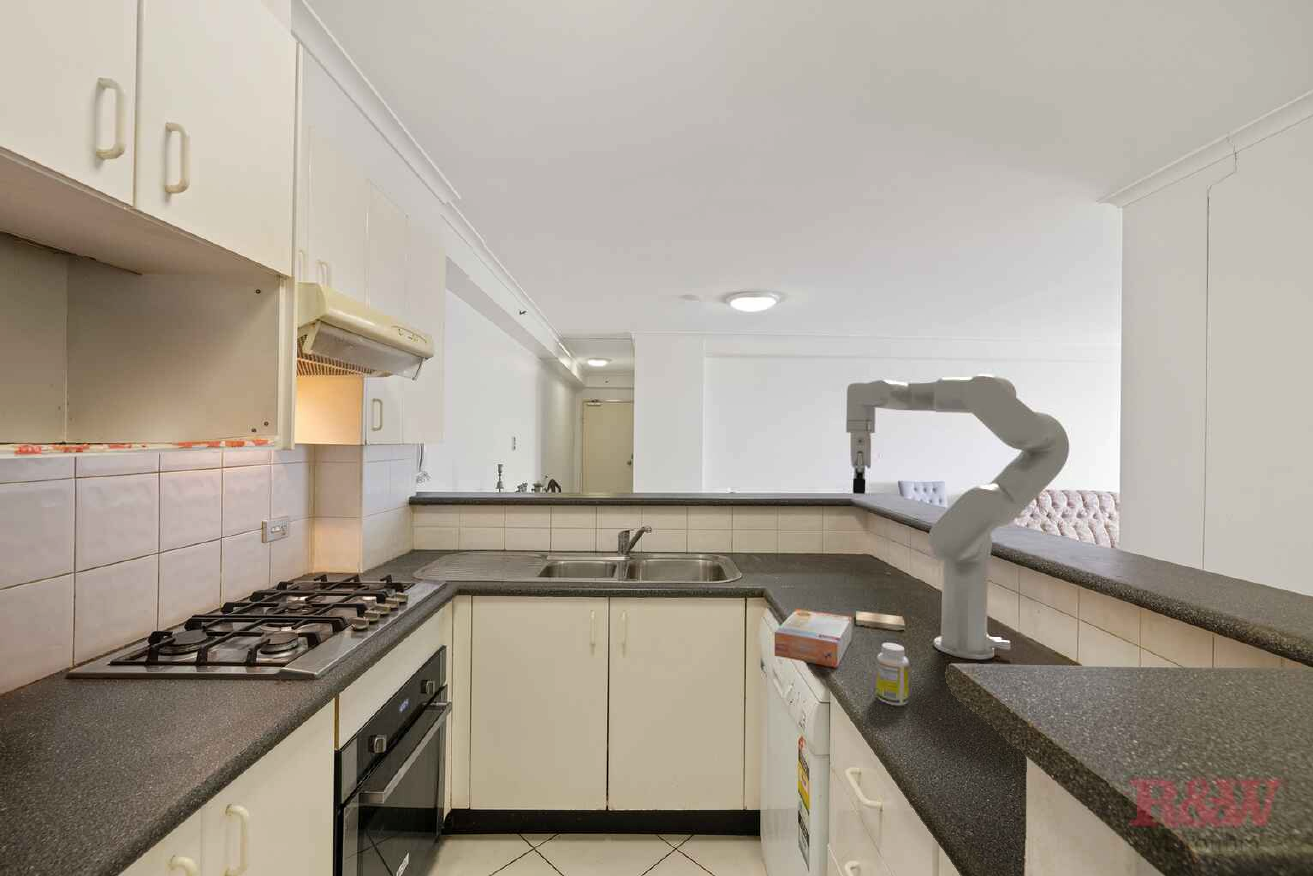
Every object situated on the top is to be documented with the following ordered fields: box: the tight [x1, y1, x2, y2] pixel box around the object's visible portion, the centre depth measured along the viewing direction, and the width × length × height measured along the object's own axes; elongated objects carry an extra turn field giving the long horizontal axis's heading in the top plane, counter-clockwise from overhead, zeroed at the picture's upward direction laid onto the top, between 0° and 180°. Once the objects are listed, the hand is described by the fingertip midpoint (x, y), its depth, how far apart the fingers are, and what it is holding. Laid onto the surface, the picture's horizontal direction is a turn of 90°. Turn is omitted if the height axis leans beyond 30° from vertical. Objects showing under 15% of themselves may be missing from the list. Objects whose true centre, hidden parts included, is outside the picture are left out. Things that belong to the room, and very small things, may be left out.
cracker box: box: [774, 608, 853, 669], centre depth 131 cm, size 14×6×21 cm
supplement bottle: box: [876, 642, 910, 707], centre depth 105 cm, size 6×6×10 cm
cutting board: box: [855, 610, 906, 632], centre depth 150 cm, size 12×8×2 cm, turn 71°
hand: (858, 493), depth 153 cm, fingers closed
